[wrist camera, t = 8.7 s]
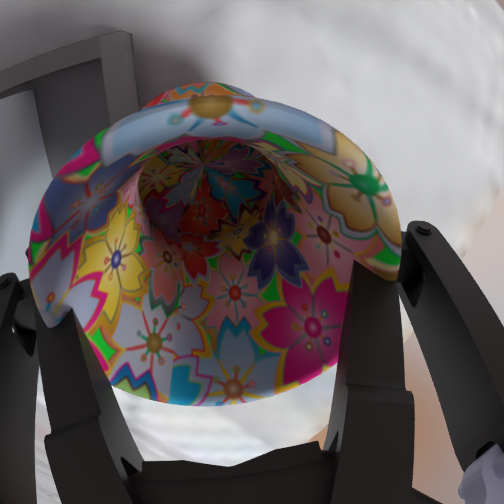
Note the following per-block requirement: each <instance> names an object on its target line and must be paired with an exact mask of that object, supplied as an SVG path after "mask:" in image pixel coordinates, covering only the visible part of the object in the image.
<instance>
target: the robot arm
mask: <svg viewBox="0 0 504 504" xmlns="http://www.w3.org/2000/svg"><path fill="white" fill-rule="evenodd" d="M401 240H402V243H401V260H400V266H399V271H398V275H397V279H396V280H395V281H388V280H385V279H383V278H381V277H380V276H378V275H377V274H375V273H374V272H372V271H370V270H369V269H367V268H366V267H364V266H363V265H361V264H360V263H358V262H357V261H356V260H353V266H352V272H351V278H350V284H349V290H348V297H347V303H346V309H345V315H344V321H343V327H342V333H341V338H340V346H339V355H338V364H337V372H336V379H335V387H334V394H333V400H332V407H331V413H330V420H329V426H328V431H327V436H326V440H325V443H324V447H323V450H321V449H320V446H319V443H318V441H315V442H310V443H305V444H301V445H296V446H291V447H286V448H281V449H275V450H273V451H270V452H268V453H266V454H263V455H261V456H258V457H256V458H253V459H251V460H248V461H246V462H243V463H240V464H238V465H235V466H230V467H226V466H217V465H210V464H203V463H197V462H191V461H185V460H178V461H144V459H143V458H142V456H141V454H140V452H139V450H138V448H137V446H136V444H135V442H134V440H133V437H132V435H131V433H130V431H129V429H128V426H127V424H126V422H125V419H124V417H123V415H122V412H121V410H120V407H119V405H118V402H117V400H116V397H115V395H114V392H113V389H112V387H111V384H110V381H109V379H108V377H107V376H106V374H105V372H104V370H103V368H102V366H101V364H100V362H99V360H98V358H97V356H96V354H95V352H94V350H93V348H92V346H91V344H90V342H89V340H88V338H87V336H86V334H85V332H84V330H83V328H82V326H81V324H80V322H79V320H78V318H77V316H76V314H75V312H74V310H73V308H71V309H70V311H69V312H68V313H67V314H66V315H65V317H64V318H63V319H62V320H61V322H59V323H58V324H57V325H56V326H54V327H52V328H48V327H47V326H46V324H45V322H44V320H43V318H42V316H41V314H40V312H39V310H38V307H37V305H36V302H35V299H34V296H33V292H32V288H31V284H30V278H27V279H25V280H22V281H19V279H18V277H17V275H16V273H13V272H11V273H6V274H3V275H1V276H0V504H37V496H36V480H35V412H36V396H37V384H38V375H39V366H40V372H41V379H42V385H43V391H44V396H45V402H46V407H47V412H48V417H49V421H50V425H51V434H49V435H46V436H45V439H44V443H45V450H46V454H47V457H48V461H49V465H50V468H51V472H52V475H53V479H54V482H55V485H56V488H57V491H58V494H59V497H60V500H61V503H62V504H442V503H440V502H438V501H436V500H434V499H432V498H430V497H429V496H427V495H425V494H423V493H421V492H419V491H417V490H416V489H414V488H412V479H413V463H414V431H415V430H414V429H415V426H414V425H415V424H414V423H415V413H414V412H415V411H414V397H413V394H412V392H411V391H406V388H405V376H404V375H405V373H404V352H403V336H402V323H401V313H400V303H399V296H400V298H401V300H402V303H403V305H404V307H405V310H406V312H407V315H408V317H409V319H410V322H411V324H412V327H413V329H414V332H415V334H416V337H417V339H418V342H419V345H420V347H421V350H422V352H423V355H424V358H425V360H426V363H427V366H428V369H429V372H430V375H431V377H432V380H433V383H434V386H435V389H436V392H437V395H438V398H439V401H440V404H441V408H442V411H443V414H444V417H445V421H446V424H447V428H448V431H449V435H450V438H451V441H452V445H453V448H454V451H455V454H456V456H457V459H458V461H459V463H460V465H461V467H462V470H463V471H464V475H463V479H462V483H461V484H460V486H459V489H458V494H459V496H460V497H461V498H462V499H464V500H465V504H504V327H503V325H502V323H501V321H500V320H499V318H498V316H497V315H496V313H495V311H494V310H493V308H492V306H491V305H490V304H489V302H488V300H487V298H486V297H485V295H484V294H483V292H482V291H481V289H480V287H479V286H478V284H477V283H476V281H475V280H474V279H473V277H472V275H471V274H470V273H469V272H468V270H467V268H466V267H465V265H464V264H463V263H462V261H461V260H460V258H459V257H458V255H457V254H456V253H455V251H454V250H453V249H452V247H451V246H450V245H449V243H448V242H447V241H446V239H445V238H444V237H443V235H442V234H441V233H440V231H439V230H438V229H437V228H436V227H435V226H433V225H431V224H430V223H428V222H425V221H412V222H410V223H409V224H408V227H407V231H406V232H403V231H401ZM28 248H29V247H28ZM28 248H27V249H26V252H25V254H26V256H27V259H28ZM12 328H13V329H12ZM13 330H14V333H13Z"/></svg>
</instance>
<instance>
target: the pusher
mask: <svg viewBox="0 0 504 504" xmlns="http://www.w3.org/2000/svg"><path fill="white" fill-rule="evenodd" d="M52 180H53V177H52V174H51V170H50V166H49V163H48V159H47V155H46V151H45V146H44V142H43V138H42V133H41V128H40V124H39V119H38V113H37V108H36V102H35V96H34V90H33V89H30V90H27V91H24V92H21V93H18V94H15V95H12V96H9V97H6V98H3V99H0V276H1V275H3V274H6V273H11V272H13V273H16V275H17V277H18V279H19V281H22V280H25V279H27V278H29V269H28V259H27V256H26V254H25V252H26V249H27V248H28V247H29V241H30V233H31V229H32V225H33V221H34V217H35V214H36V211H37V209H38V207H39V204H40V202H41V199H42V197H43V195H44V193H45V192H46V190H47V188H48V187H49V185H50V183H51V181H52ZM12 329H13V328H12ZM13 333H14V330H13ZM37 387H43V385H42V379H41V372H40V366H39V375H38V384H37Z"/></svg>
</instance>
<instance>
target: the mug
mask: <svg viewBox="0 0 504 504" xmlns="http://www.w3.org/2000/svg"><path fill="white" fill-rule="evenodd" d="M401 243H402V240H401V229H400V222H399V218H398V213H397V209H396V206H395V203H394V201H393V198H392V195H391V192H390V190H389V188H388V186H387V184H386V182H385V181H384V179H383V177H382V175H381V174H380V172H379V171H378V169H377V168H376V167H375V165H374V164H373V162H372V161H371V160H370V159H369V158H368V157H367V156H366V154H365V153H364V152H363V151H362V150H361V149H360V148H359V147H358V146H357V145H356V144H355V143H353V142H352V141H351V140H350V139H349V138H348V137H346V136H345V135H344V134H342V133H341V132H340V131H338V130H337V129H335V128H334V127H332V126H330V125H329V124H327V123H326V122H324V121H322V120H320V119H318V118H316V117H314V116H312V115H310V114H308V113H306V112H304V111H302V110H299V109H296V108H293V107H290V106H287V105H284V104H281V103H278V102H273V101H269V100H264V99H259V98H256V97H254V96H253V95H251V94H250V93H248V92H246V91H244V90H242V89H239V88H237V87H234V86H230V85H227V84H221V83H213V82H199V83H191V84H186V85H182V86H179V87H176V88H173V89H170V90H168V91H166V92H164V93H162V94H160V95H159V96H157V97H156V98H154V99H153V100H151V101H150V102H149V103H148V104H146V105H145V106H144V107H143V108H142V109H141V110H140V111H139V112H136V113H134V114H131V115H129V116H127V117H125V118H123V119H121V120H119V121H118V122H116V123H114V124H112V125H111V126H109V127H107V128H105V129H104V130H102V131H101V132H100V133H98V134H97V135H96V136H94V137H93V138H92V139H90V140H89V141H88V142H86V143H85V144H84V145H83V146H82V147H81V148H80V149H79V150H78V151H77V152H76V153H75V154H74V155H73V156H72V157H71V158H70V159H69V160H68V161H67V162H66V163H65V164H64V165H63V167H62V168H61V169H60V170H59V172H58V173H57V174H56V176H55V177H54V178H53V180H52V181H51V183H50V185H49V187H48V188H47V190H46V192H45V193H44V195H43V197H42V199H41V202H40V204H39V207H38V209H37V211H36V214H35V217H34V221H33V225H32V229H31V233H30V241H29V248H28V269H29V278H30V284H31V288H32V292H33V296H34V299H35V302H36V305H37V307H38V310H39V312H40V314H41V316H42V318H43V320H44V322H45V324H46V326H47V327H48V328H52V327H54V326H56V325H57V324H58V323H59V322H61V320H62V319H63V318H64V317H65V315H66V314H67V313H68V312H69V311H70V309H71V308H73V310H74V312H75V314H76V316H77V318H78V320H79V322H80V324H81V326H82V328H83V330H84V332H85V334H86V336H87V338H88V340H89V342H90V344H91V346H92V348H93V350H94V352H95V354H96V356H97V358H98V360H99V362H100V364H101V366H102V368H103V370H104V372H105V374H106V376H107V377H108V379H109V381H110V384H111V385H112V386H114V387H116V388H119V389H121V390H123V391H126V392H128V393H131V394H134V395H137V396H139V397H143V398H146V399H150V400H154V401H158V402H163V403H169V404H176V405H185V406H224V405H233V404H240V403H246V402H251V401H255V400H260V399H263V398H267V397H270V396H274V395H276V394H279V393H282V392H285V391H287V390H290V389H292V388H295V387H297V386H299V385H301V384H303V383H305V382H307V381H309V380H311V379H313V378H315V377H316V376H318V375H320V374H321V373H323V372H325V371H326V370H328V369H329V368H331V367H332V366H333V365H335V364H336V363H337V362H338V355H339V346H340V338H341V333H342V327H343V321H344V315H345V309H346V303H347V297H348V290H349V284H350V278H351V272H352V266H353V260H356V261H357V262H358V263H360V264H361V265H363V266H364V267H366V268H367V269H369V270H370V271H372V272H374V273H375V274H377V275H378V276H380V277H381V278H383V279H385V280H388V281H395V280H396V279H397V275H398V271H399V266H400V260H401Z"/></svg>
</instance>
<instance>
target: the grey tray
mask: <svg viewBox="0 0 504 504" xmlns="http://www.w3.org/2000/svg"><path fill="white" fill-rule="evenodd" d="M30 89H33V90H34V96H35V102H36V108H37V113H38V119H39V124H40V128H41V133H42V138H43V142H44V146H45V151H46V155H47V159H48V163H49V166H50V170H51V174H52V177H53V178H54V177H55V176H56V174H57V173H58V172H59V170H60V169H61V168H62V167H63V165H64V164H65V163H66V162H67V161H68V160H69V159H70V158H71V157H72V156H73V155H74V154H75V153H76V152H77V151H78V150H79V149H80V148H81V147H82V146H83V145H84V144H85V143H86V142H88V141H89V140H90V139H92V138H93V137H94V136H96V135H97V134H98V133H100V132H101V131H102V130H104V129H105V128H107V127H109V126H111V125H112V124H114V123H116V122H118V121H119V120H121V119H123V118H125V117H127V116H129V115H131V114H134V113H136V112H139V111H140V107H139V99H138V91H137V83H136V75H135V65H134V56H133V45H132V34H130V33H127V32H124V31H118V32H114V33H110V34H106V35H102V36H98V37H95V38H91V39H88V40H84V41H81V42H78V43H74V44H71V45H68V46H65V47H62V48H59V49H56V50H53V51H51V52H48V53H45V54H42V55H40V56H37V57H35V58H32V59H30V60H27V61H25V62H22V63H20V64H18V65H15V66H13V67H11V68H9V69H6V70H4V71H2V72H0V99H3V98H6V97H9V96H12V95H15V94H18V93H21V92H24V91H27V90H30Z"/></svg>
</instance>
